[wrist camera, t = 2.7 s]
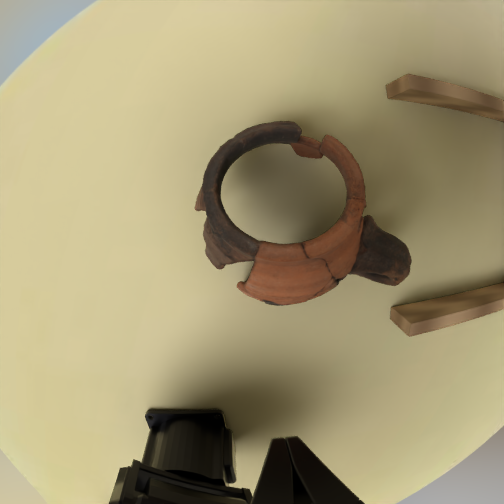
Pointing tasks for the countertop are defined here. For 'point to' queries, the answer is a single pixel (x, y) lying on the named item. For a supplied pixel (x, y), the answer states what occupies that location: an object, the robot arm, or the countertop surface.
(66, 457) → the countertop surface
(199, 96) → the countertop surface
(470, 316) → the walnut bay
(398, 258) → the pottery mug
